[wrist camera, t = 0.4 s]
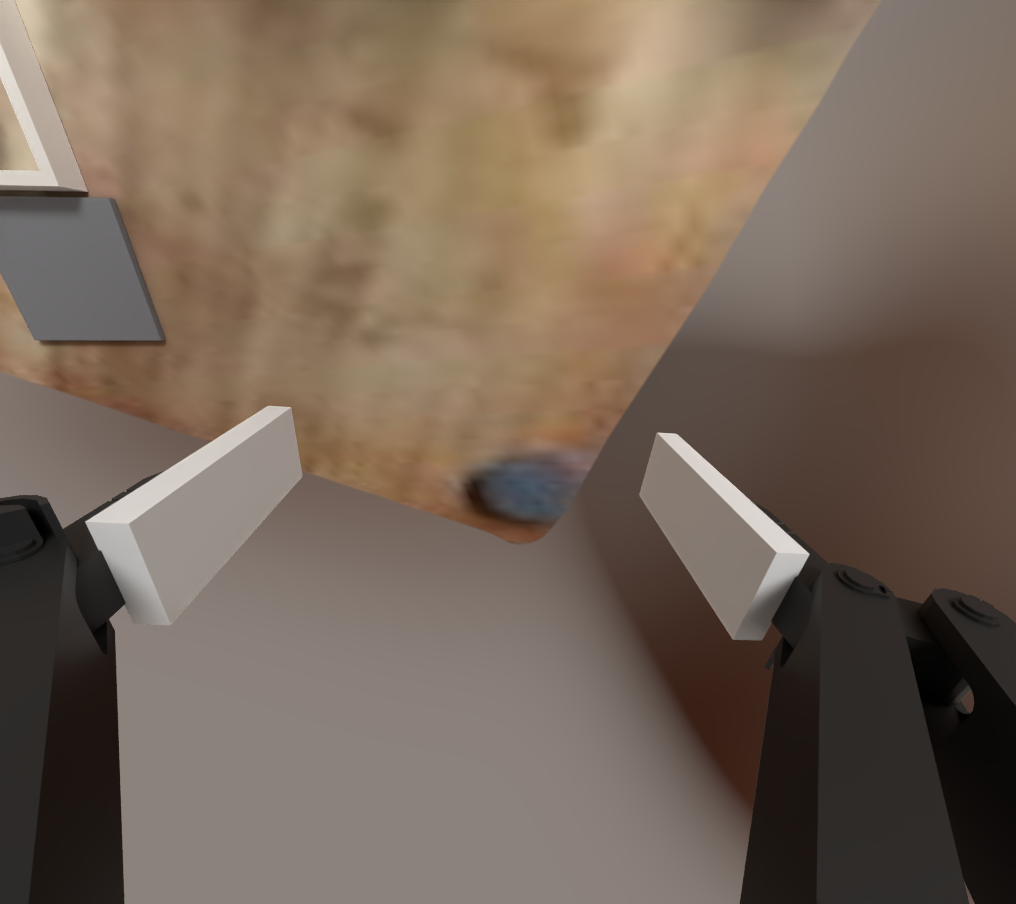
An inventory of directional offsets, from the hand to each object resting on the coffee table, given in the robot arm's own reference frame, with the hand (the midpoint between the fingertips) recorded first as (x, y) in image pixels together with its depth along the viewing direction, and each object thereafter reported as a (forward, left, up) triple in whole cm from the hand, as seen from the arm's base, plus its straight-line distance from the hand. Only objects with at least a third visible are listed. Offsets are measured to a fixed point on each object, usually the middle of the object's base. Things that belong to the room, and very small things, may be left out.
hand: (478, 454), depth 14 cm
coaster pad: (-5, -38, -29) cm, 48 cm away
